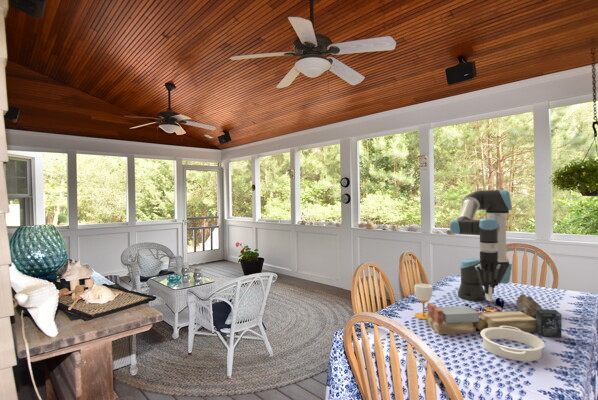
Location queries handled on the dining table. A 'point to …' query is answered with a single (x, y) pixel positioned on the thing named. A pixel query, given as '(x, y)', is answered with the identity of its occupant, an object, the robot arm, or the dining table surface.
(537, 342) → the cream oval ring
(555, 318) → the box
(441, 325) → the track
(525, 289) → the dining table surface
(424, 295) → the cup
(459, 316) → the slab
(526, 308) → the rock
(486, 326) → the roller
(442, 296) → the dining table surface
